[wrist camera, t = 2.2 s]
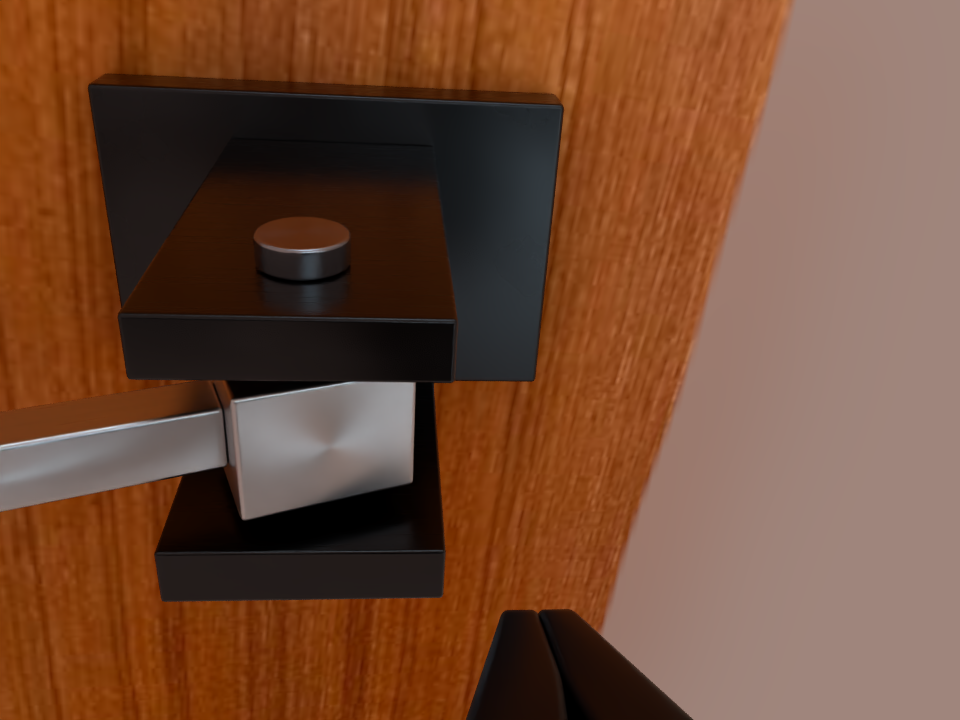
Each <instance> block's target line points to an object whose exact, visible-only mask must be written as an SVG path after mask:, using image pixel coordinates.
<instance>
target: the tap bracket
mask: <svg viewBox="0 0 960 720" xmlns="http://www.w3.org/2000/svg"><path fill="white" fill-rule="evenodd" d="M88 92H89V99H90V105H91V112H92V118H93V125H94V131H95V138H96V145H97V151H98V158H99V164H100V171H101V177H102V184H103V191H104V197H105V204H106V210H107V217H108V223H109V230H110V237H111V243H112V250H113V256H114V263H115V269H116V276H117V283H118V289H119V296H120V302H121V310H120V312H119V313H118V322H119V329H120V335H121V342H122V348H123V354H124V361H125V367H126V374H127V377H128V379H136V380H227V381H319V382H410V383H416V392H415V425H414V459H413V481H412V483H411V484H409V485H404V486H400V487H395V488H391V489H386V490H382V491H377V492H373V493H368V494H364V495H359V496H355V497H350V498H346V499H341V500H337V501H332V502H328V503H324V504H319V505H315V506H310V507H306V508H301V509H297V510H292V511H288V512H283V513H279V514H274V515H270V516H265V517H261V518H256V519H252V520H247V521H244V520H242V519H241V517H240V516H239V513H238V510H237V507H236V504H235V501H234V498H233V495H232V492H231V489H230V486H229V483H228V480H227V477H226V474H225V471H224V468H220V469H214V470H209V471H204V472H199V473H194V474H189V475H184V476H182V479H181V481H180V484H179V487H178V490H177V493H176V495H175V498H174V501H173V504H172V506H171V509H170V512H169V515H168V518H167V520H166V523H165V526H164V529H163V532H162V534H161V537H160V540H159V543H158V545H157V548H156V551H155V554H154V555H155V562H156V568H157V575H158V581H159V588H160V594H161V599H162V601H164V602H173V601H242V600H311V599H381V598H440V597H442V595H443V588H444V570H445V552H446V551H445V537H444V523H443V509H442V495H441V481H440V467H439V453H438V439H437V425H436V411H435V397H434V383H452V382H453V381H530V382H532V381H534V379H535V376H536V366H537V357H538V347H539V338H540V329H541V319H542V310H543V300H544V291H545V282H546V272H547V263H548V254H549V244H550V235H551V225H552V216H553V207H554V197H555V188H556V178H557V169H558V160H559V150H560V141H561V131H562V122H563V113H564V107H563V105H562V103H561V102H560V101H559V99H558V98H557V97H556V95H554V94H542V93H520V92H498V91H477V90H455V89H433V88H411V87H389V86H367V85H345V84H323V83H301V82H280V81H258V80H236V79H214V78H192V77H170V76H148V75H126V74H104V75H102V76H101V77H99V78H98V79H96V80H95V81H93V82H92V83H90V84H89V85H88Z"/></svg>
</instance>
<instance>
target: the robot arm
mask: <svg viewBox="0 0 960 720" xmlns="http://www.w3.org/2000/svg"><path fill="white" fill-rule="evenodd" d="M466 720H693V719H692V718H691V717H690V716H689V715H688V714H687V713H685V712H684V711H683V710H682V709H681V708H680V707H679V706H678V705H677V704H676V703H675V702H673V701H672V700H671V699H670V698H669V697H668V696H667V695H666V694H665V693H664V692H662V691H661V690H660V689H659V688H658V687H657V686H656V685H655V684H653V682H651V681H650V680H649V679H648V678H647V677H646V676H645V675H644V674H643V673H641V672H640V671H639V670H638V669H637V668H636V667H635V666H634V665H633V664H632V663H631V662H629V661H628V660H627V659H626V658H625V657H624V656H623V655H622V654H621V653H620V652H618V651H617V650H616V649H615V648H614V647H613V646H612V645H611V644H610V643H609V642H607V641H606V640H605V639H604V638H603V637H602V636H601V635H600V634H599V633H598V632H596V631H595V630H594V629H593V628H592V627H591V626H590V625H589V624H588V623H587V622H585V621H584V620H583V619H582V618H581V617H580V616H579V615H578V614H577V613H575V612H574V611H572V610H569V609H552V610H541V611H540V612H539V613H538V614H537V612H535V611H534V610H507V611H504V612H503V613H502V615H501V617H500V620H499V623H498V626H497V629H496V632H495V635H494V638H493V641H492V644H491V647H490V650H489V653H488V656H487V659H486V662H485V665H484V668H483V671H482V674H481V677H480V680H479V683H478V685H477V688H476V691H475V694H474V697H473V700H472V703H471V706H470V709H469V712H468V715H467V718H466Z"/></svg>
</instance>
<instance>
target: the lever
mask: <svg viewBox="0 0 960 720" xmlns="http://www.w3.org/2000/svg"><path fill="white" fill-rule="evenodd" d="M415 392H416V383H410V382H319V381H227V380H200V381H193V382H187V383H180V384H174V385H168V386H161V387H155V388H149V389H142V390H136V391H129V392H123V393H117V394H110V395H104V396H98V397H91V398H85V399H79V400H72V401H66V402H59V403H53V404H47V405H40V406H34V407H28V408H21V409H15V410H8V411H2V412H0V512H2V511H7V510H12V509H17V508H22V507H27V506H32V505H37V504H42V503H47V502H52V501H57V500H62V499H68V498H73V497H78V496H83V495H88V494H93V493H98V492H103V491H108V490H113V489H118V488H123V487H128V486H133V485H138V484H144V483H149V482H154V481H159V480H164V479H169V478H174V477H179V476H184V475H189V474H194V473H199V472H204V471H209V470H214V469H220V468H224V471H225V474H226V477H227V480H228V483H229V486H230V489H231V492H232V495H233V498H234V501H235V504H236V507H237V510H238V513H239V516H240V517H241V519H242V520H244V521H247V520H252V519H256V518H261V517H265V516H270V515H274V514H279V513H283V512H288V511H292V510H297V509H301V508H306V507H310V506H315V505H319V504H324V503H328V502H332V501H337V500H341V499H346V498H350V497H355V496H359V495H364V494H368V493H373V492H377V491H382V490H386V489H391V488H395V487H400V486H404V485H409V484H411V483H412V481H413V459H414V425H415Z"/></svg>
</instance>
